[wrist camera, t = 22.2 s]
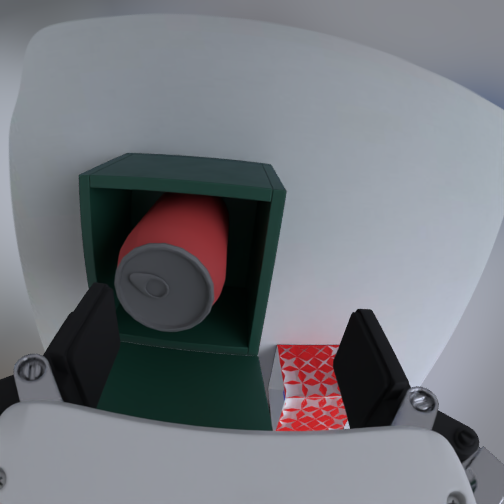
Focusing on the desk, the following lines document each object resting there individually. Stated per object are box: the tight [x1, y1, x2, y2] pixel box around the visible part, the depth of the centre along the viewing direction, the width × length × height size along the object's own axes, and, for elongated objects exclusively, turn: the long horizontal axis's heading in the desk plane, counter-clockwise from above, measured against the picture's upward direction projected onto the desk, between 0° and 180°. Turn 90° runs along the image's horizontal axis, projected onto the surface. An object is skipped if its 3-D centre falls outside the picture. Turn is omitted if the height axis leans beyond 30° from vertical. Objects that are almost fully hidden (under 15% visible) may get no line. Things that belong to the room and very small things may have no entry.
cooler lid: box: [96, 341, 273, 431], centre depth 16 cm, size 13×13×5 cm
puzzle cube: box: [268, 345, 348, 431], centre depth 33 cm, size 8×8×8 cm
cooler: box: [79, 153, 286, 356], centre depth 24 cm, size 13×13×9 cm
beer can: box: [114, 192, 229, 332], centre depth 22 cm, size 7×7×12 cm
